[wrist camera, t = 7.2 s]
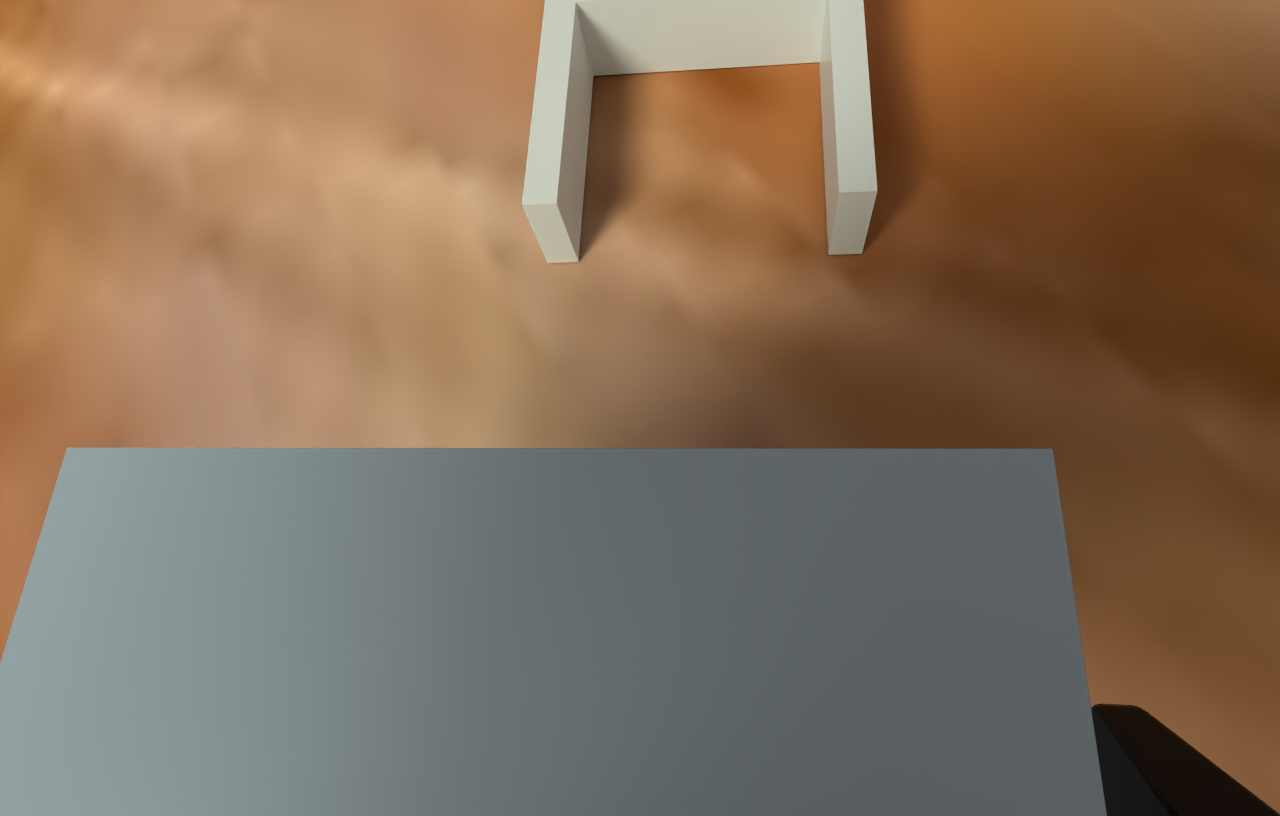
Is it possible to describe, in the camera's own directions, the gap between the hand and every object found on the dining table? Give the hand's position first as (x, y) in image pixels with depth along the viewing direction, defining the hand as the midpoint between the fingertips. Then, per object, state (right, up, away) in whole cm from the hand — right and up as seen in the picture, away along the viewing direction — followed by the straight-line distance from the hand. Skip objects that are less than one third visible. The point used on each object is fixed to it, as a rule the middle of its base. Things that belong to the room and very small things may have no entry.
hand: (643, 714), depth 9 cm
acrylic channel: (+2, +10, +12) cm, 16 cm away
